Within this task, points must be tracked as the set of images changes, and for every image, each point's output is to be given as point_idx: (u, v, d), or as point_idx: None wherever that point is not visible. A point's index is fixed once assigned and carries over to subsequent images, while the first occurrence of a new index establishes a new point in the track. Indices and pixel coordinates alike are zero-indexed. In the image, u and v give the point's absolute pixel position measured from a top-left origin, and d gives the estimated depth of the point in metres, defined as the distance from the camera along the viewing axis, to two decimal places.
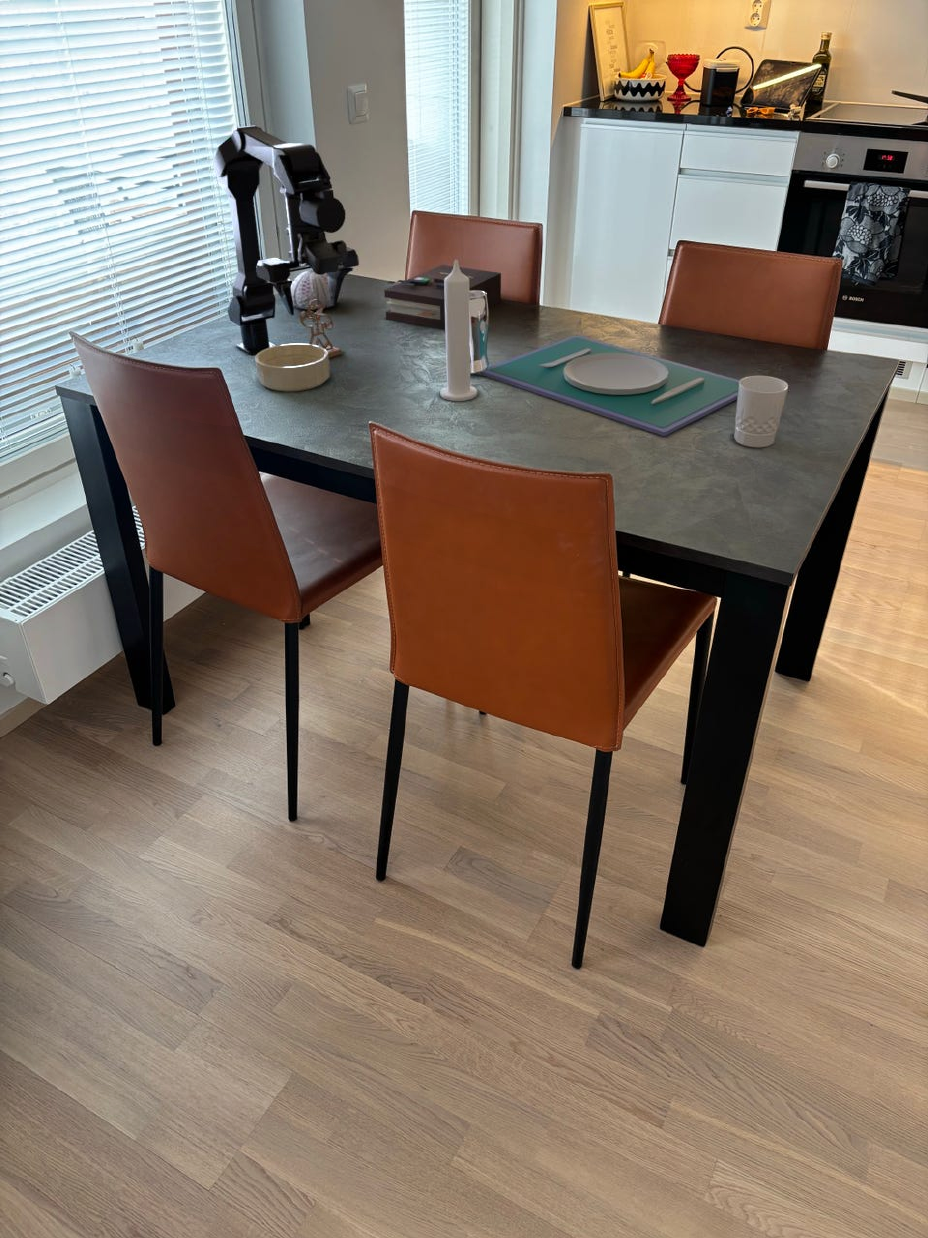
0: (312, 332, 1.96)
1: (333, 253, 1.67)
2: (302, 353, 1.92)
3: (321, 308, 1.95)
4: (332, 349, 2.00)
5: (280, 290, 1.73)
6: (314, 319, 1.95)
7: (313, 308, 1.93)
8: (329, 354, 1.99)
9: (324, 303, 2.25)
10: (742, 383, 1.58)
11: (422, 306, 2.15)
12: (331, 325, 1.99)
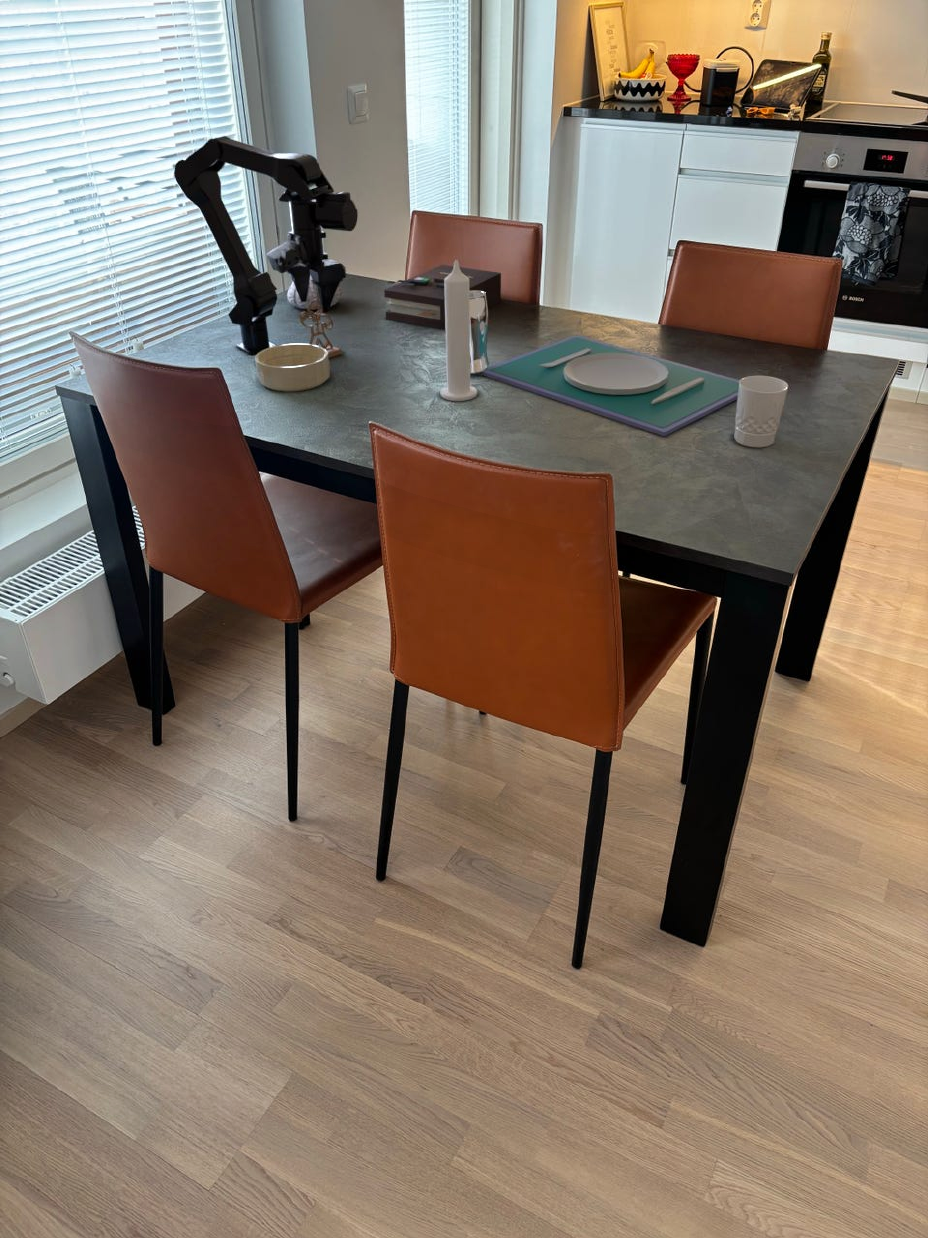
0: (312, 332, 1.96)
1: (277, 255, 1.82)
2: (302, 353, 1.92)
3: (321, 308, 1.95)
4: (332, 349, 2.00)
5: None
6: (314, 319, 1.95)
7: (313, 308, 1.93)
8: (329, 354, 1.99)
9: None
10: (742, 383, 1.58)
11: (422, 306, 2.15)
12: (331, 325, 1.99)
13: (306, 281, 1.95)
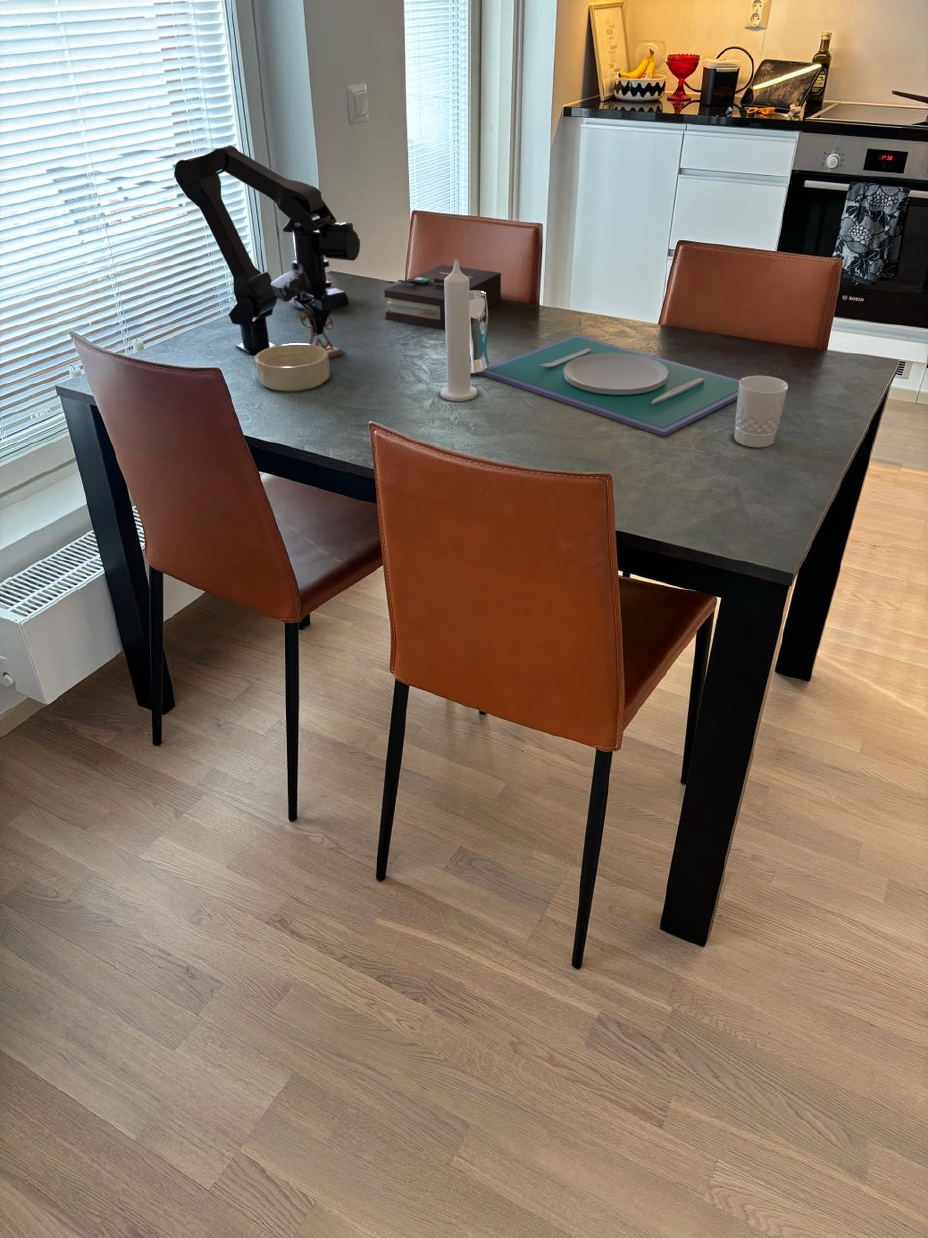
0: (312, 332, 1.96)
1: (281, 284, 1.86)
2: (302, 353, 1.92)
3: None
4: (332, 349, 2.00)
5: None
6: None
7: None
8: (329, 354, 1.99)
9: None
10: (742, 383, 1.58)
11: (422, 306, 2.15)
12: (331, 325, 1.99)
13: None
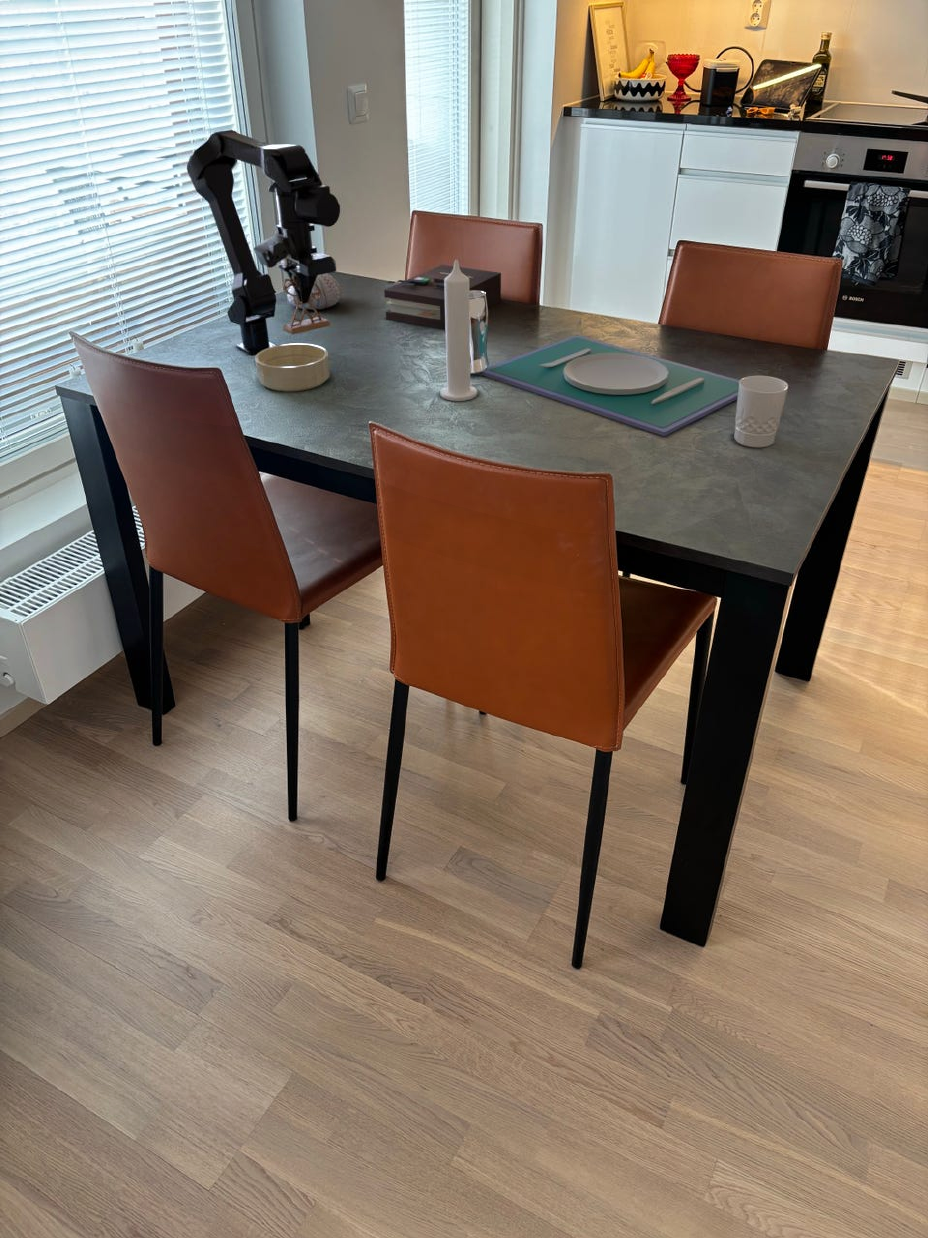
0: (297, 301, 1.87)
1: (265, 249, 1.77)
2: (302, 353, 1.92)
3: None
4: (320, 320, 1.91)
5: None
6: None
7: None
8: (315, 325, 1.90)
9: (324, 303, 2.25)
10: (742, 383, 1.58)
11: (422, 306, 2.15)
12: (319, 295, 1.89)
13: None
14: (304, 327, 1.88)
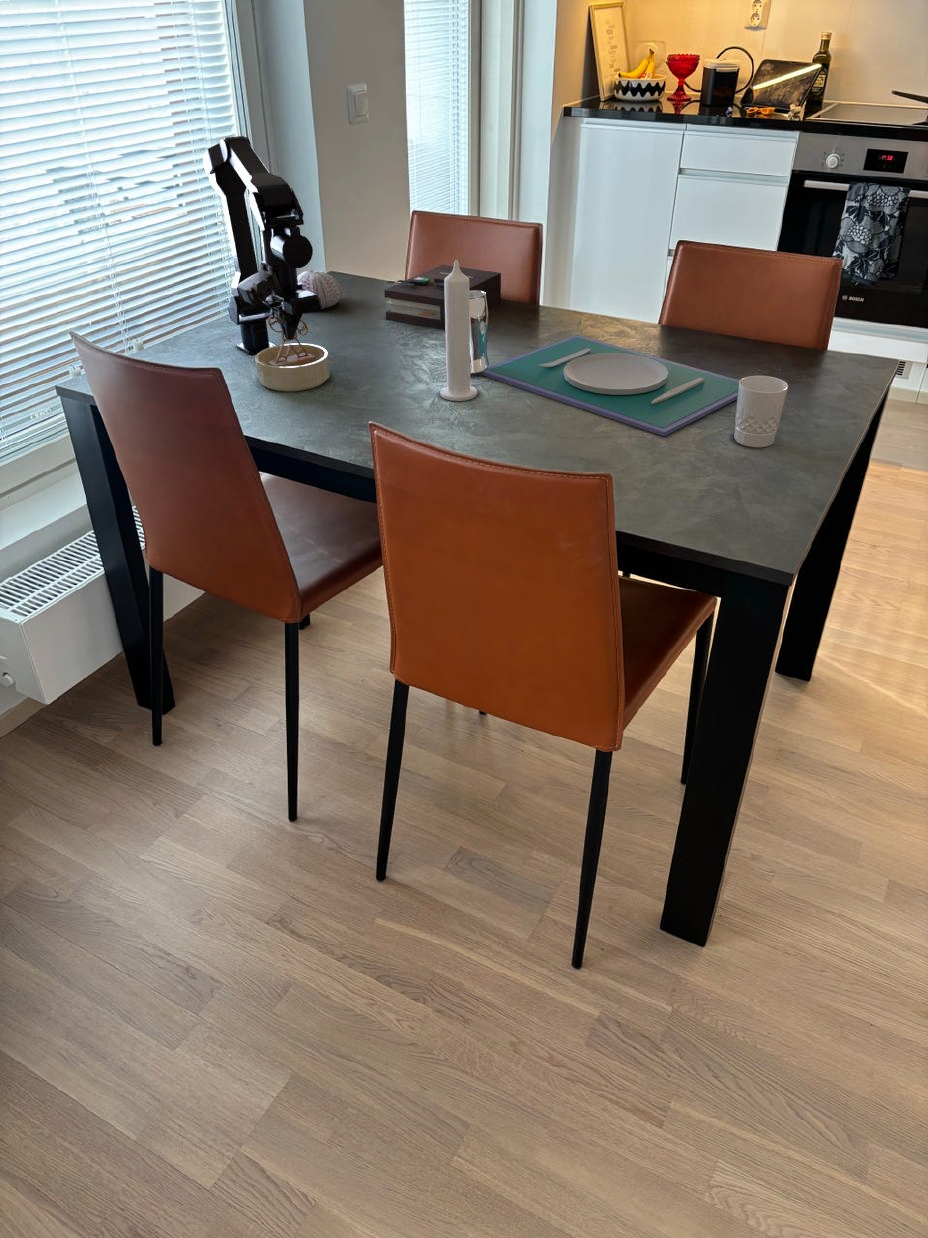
0: (283, 337, 1.83)
1: (248, 287, 1.73)
2: None
3: None
4: (306, 356, 1.87)
5: None
6: None
7: None
8: (301, 362, 1.86)
9: (324, 303, 2.25)
10: (742, 383, 1.58)
11: (422, 306, 2.15)
12: (306, 331, 1.86)
13: None
14: (290, 364, 1.85)
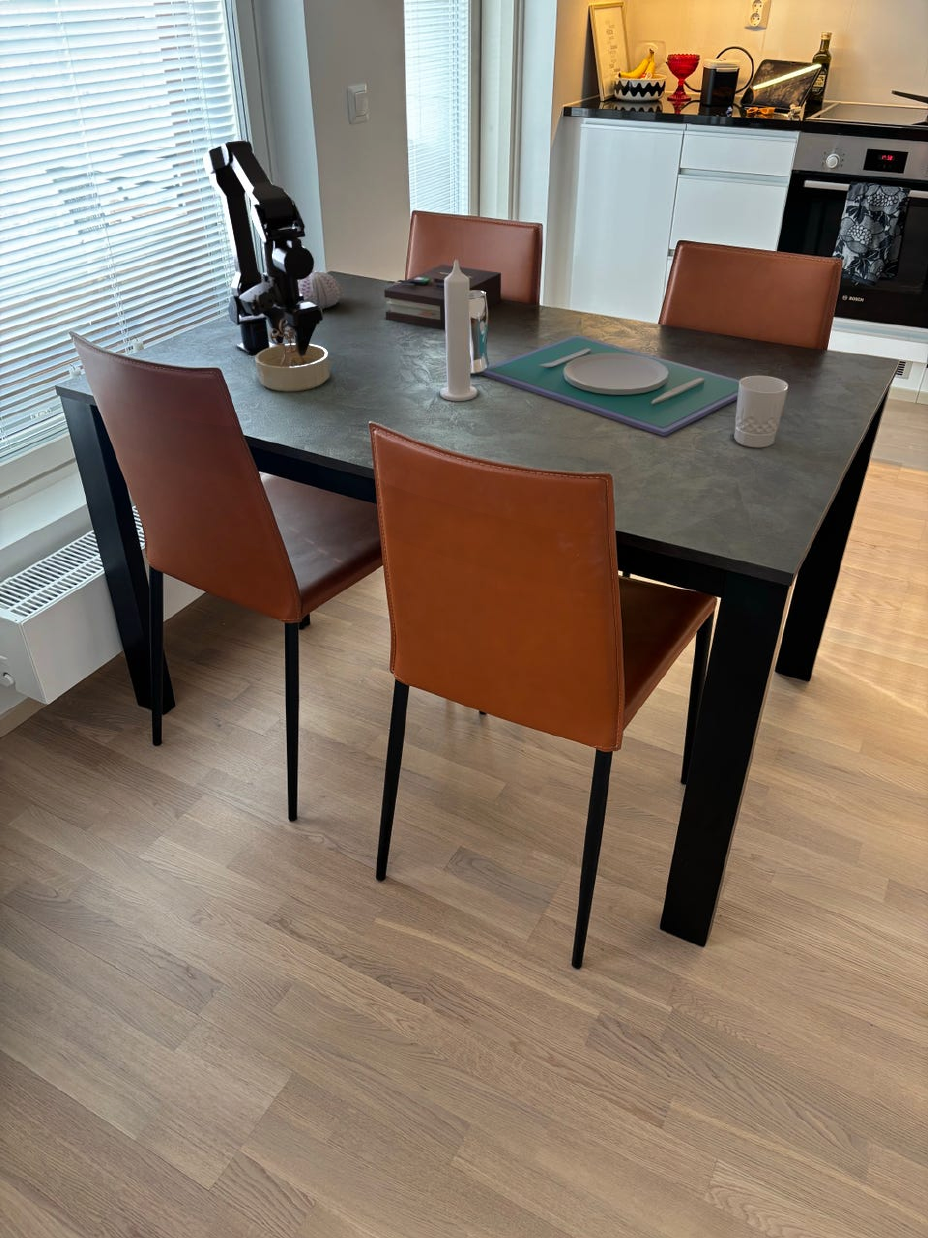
0: (284, 350, 1.85)
1: (250, 298, 1.74)
2: None
3: None
4: None
5: None
6: (286, 337, 1.83)
7: (285, 325, 1.82)
8: None
9: (324, 303, 2.25)
10: (742, 383, 1.58)
11: (422, 306, 2.15)
12: None
13: None
14: None
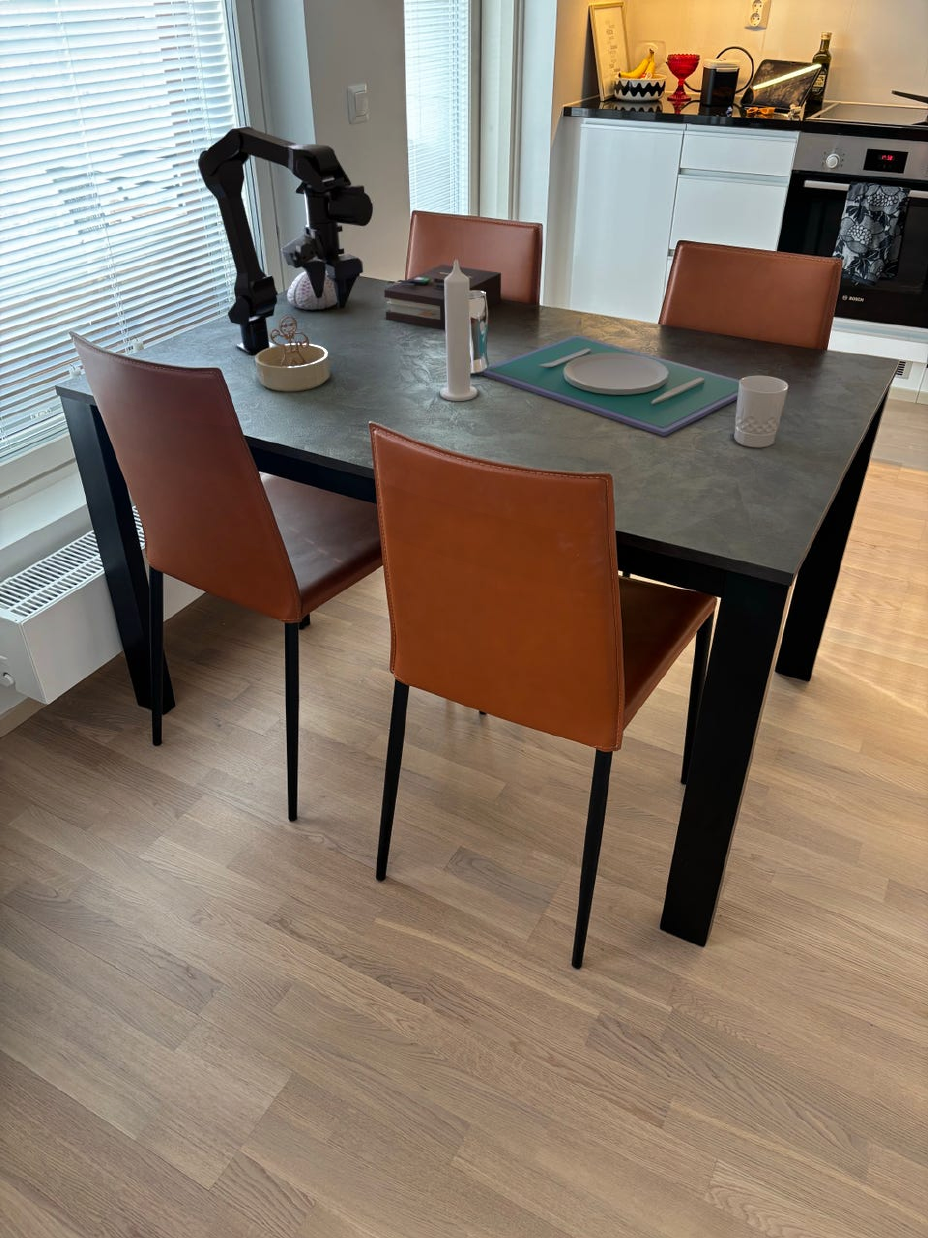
0: (284, 350, 1.85)
1: (292, 250, 1.77)
2: (302, 353, 1.92)
3: (295, 325, 1.84)
4: None
5: None
6: (286, 337, 1.83)
7: (285, 325, 1.82)
8: None
9: (324, 303, 2.25)
10: (742, 383, 1.58)
11: (422, 306, 2.15)
12: (307, 344, 1.87)
13: (322, 277, 1.89)
14: None
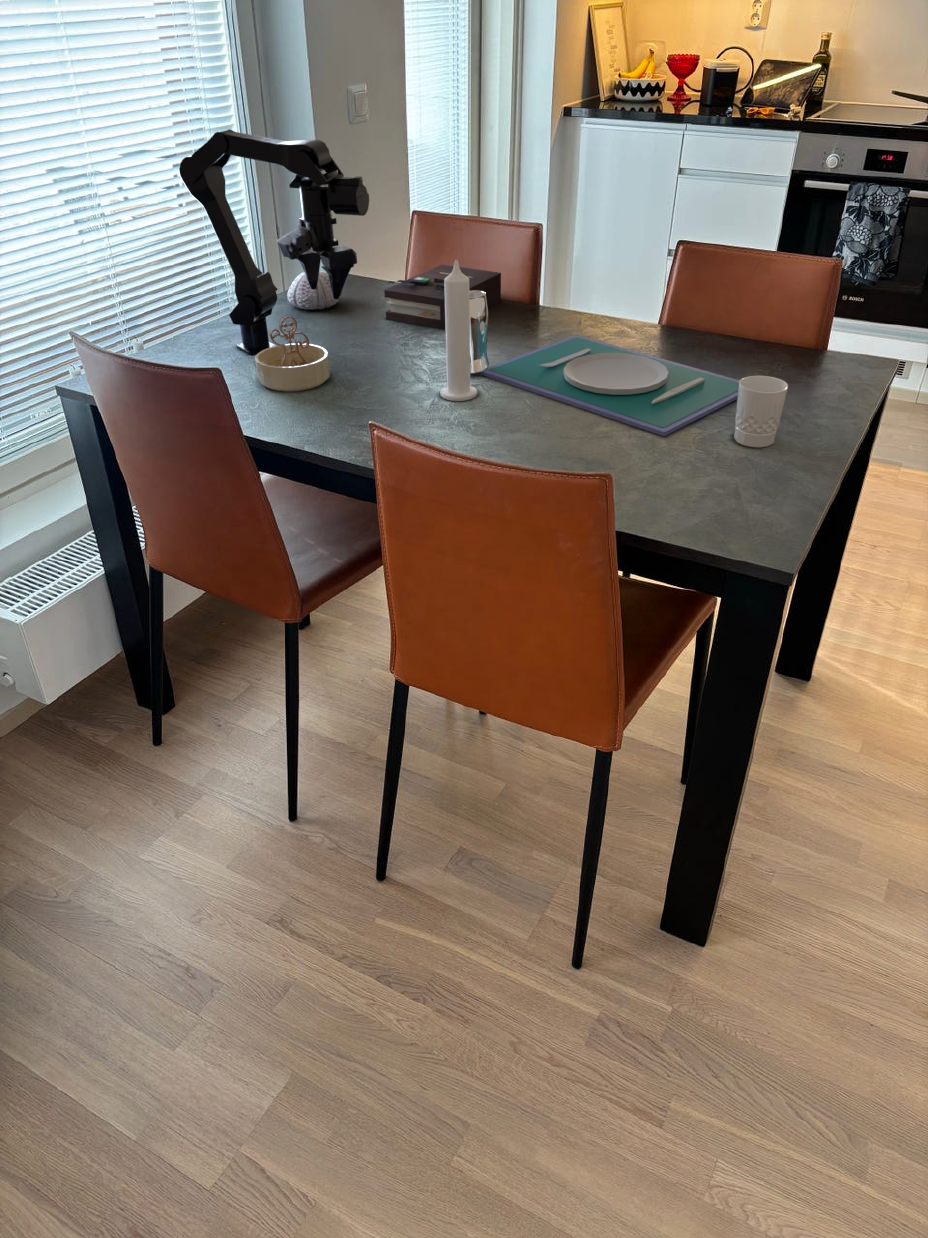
0: (284, 350, 1.85)
1: (288, 241, 1.82)
2: (302, 353, 1.92)
3: (295, 325, 1.84)
4: None
5: None
6: (286, 337, 1.83)
7: (285, 325, 1.82)
8: None
9: (324, 303, 2.25)
10: (742, 383, 1.58)
11: (422, 306, 2.15)
12: (307, 344, 1.87)
13: (316, 268, 1.94)
14: None
